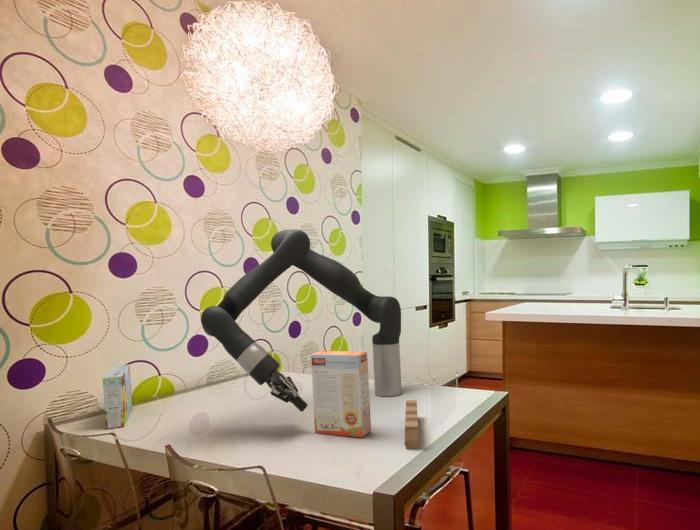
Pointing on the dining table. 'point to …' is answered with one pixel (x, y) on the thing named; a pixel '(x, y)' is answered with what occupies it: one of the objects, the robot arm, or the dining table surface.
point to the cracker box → (341, 393)
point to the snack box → (117, 396)
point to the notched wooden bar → (411, 425)
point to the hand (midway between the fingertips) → (305, 408)
